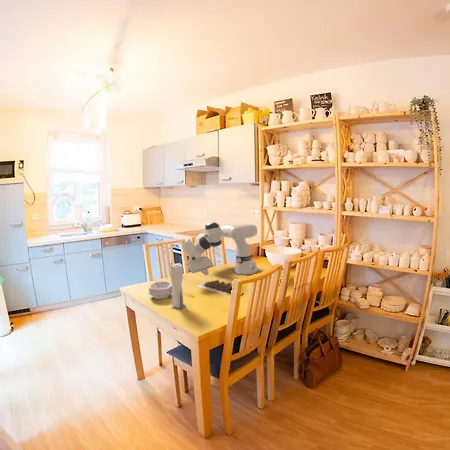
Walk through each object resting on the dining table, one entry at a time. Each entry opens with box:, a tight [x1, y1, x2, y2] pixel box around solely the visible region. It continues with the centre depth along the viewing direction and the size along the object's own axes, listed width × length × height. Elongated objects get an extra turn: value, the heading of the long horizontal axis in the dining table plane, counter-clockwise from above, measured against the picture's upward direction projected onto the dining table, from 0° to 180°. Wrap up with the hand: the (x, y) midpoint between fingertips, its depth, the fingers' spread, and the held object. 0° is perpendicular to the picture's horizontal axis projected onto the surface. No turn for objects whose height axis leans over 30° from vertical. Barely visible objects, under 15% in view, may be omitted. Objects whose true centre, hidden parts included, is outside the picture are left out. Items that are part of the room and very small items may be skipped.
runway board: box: [196, 281, 229, 296], centre depth 218 cm, size 12×26×1 cm, turn 51°
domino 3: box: [215, 282, 232, 289], centre depth 214 cm, size 2×5×10 cm
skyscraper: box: [169, 261, 187, 310], centre depth 189 cm, size 8×8×28 cm
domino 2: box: [209, 280, 226, 288], centre depth 217 cm, size 2×5×10 cm
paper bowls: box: [148, 280, 172, 300], centre depth 206 cm, size 15×15×8 cm
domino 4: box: [221, 284, 233, 291], centre depth 211 cm, size 2×5×10 cm
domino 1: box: [203, 279, 220, 286], centre depth 221 cm, size 2×5×10 cm
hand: (206, 274), depth 222 cm, fingers closed
